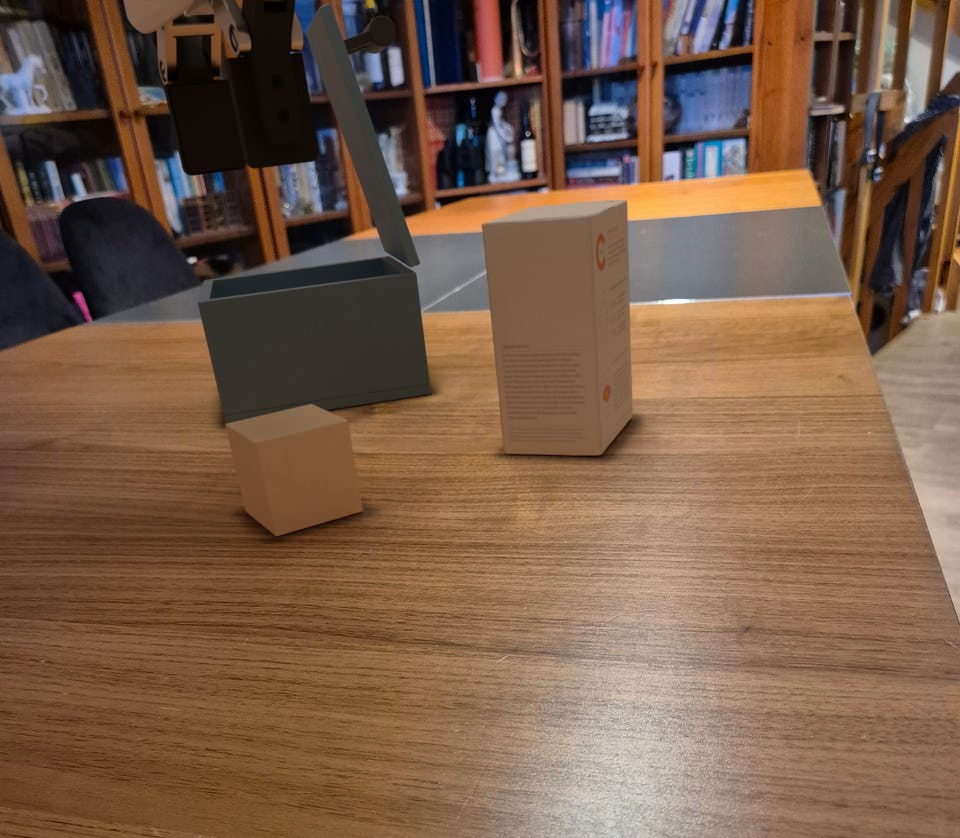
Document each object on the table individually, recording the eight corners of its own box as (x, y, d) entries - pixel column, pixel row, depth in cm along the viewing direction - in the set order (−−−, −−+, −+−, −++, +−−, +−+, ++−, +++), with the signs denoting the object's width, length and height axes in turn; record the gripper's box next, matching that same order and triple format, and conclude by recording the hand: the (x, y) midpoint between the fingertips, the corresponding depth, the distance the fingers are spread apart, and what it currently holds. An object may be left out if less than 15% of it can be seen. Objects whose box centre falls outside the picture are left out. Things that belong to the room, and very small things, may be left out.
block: (276, 537, 48) (255, 442, 46) (245, 511, 52) (224, 423, 49) (363, 511, 50) (348, 419, 48) (327, 489, 54) (311, 403, 51)
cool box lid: (318, 7, 59) (391, -22, 59) (305, 32, 70) (366, 8, 71) (410, 268, 67) (474, 242, 67) (384, 251, 79) (439, 230, 79)
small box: (542, 417, 63) (527, 205, 56) (634, 417, 60) (630, 197, 54) (500, 455, 56) (478, 221, 50) (602, 457, 54) (592, 212, 48)
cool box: (226, 426, 69) (197, 302, 65) (227, 387, 81) (203, 280, 76) (431, 394, 71) (416, 272, 67) (403, 361, 83) (389, 255, 79)
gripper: (13, -249, 41) (126, 183, 49) (88, -476, 27) (226, 173, 35) (181, -238, 44) (261, 166, 52) (323, -437, 30) (400, 151, 38)
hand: (247, 168), depth 44 cm, fingers open, 9 cm apart
